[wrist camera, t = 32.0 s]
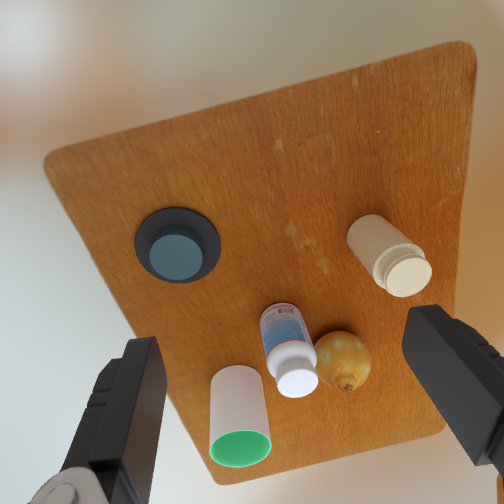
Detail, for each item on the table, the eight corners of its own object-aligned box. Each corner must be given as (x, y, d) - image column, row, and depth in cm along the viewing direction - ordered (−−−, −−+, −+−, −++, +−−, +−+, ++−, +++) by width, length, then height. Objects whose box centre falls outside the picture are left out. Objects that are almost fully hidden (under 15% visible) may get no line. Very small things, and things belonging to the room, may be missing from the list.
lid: (153, 269, 40) (150, 280, 38) (151, 224, 37) (147, 232, 35) (203, 271, 41) (202, 281, 39) (204, 226, 38) (203, 235, 36)
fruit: (297, 375, 49) (340, 413, 43) (304, 330, 45) (351, 365, 40) (333, 355, 53) (376, 387, 48) (342, 313, 50) (389, 342, 44)
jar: (348, 216, 40) (385, 256, 31) (392, 212, 40) (442, 250, 31) (344, 256, 42) (378, 303, 34) (386, 252, 43) (430, 297, 34)
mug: (272, 407, 55) (283, 473, 46) (226, 419, 56) (228, 487, 46) (254, 359, 49) (263, 423, 40) (203, 373, 50) (200, 439, 41)
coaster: (126, 211, 37) (124, 213, 36) (215, 202, 37) (214, 204, 37) (146, 285, 41) (145, 287, 41) (224, 276, 42) (224, 278, 41)
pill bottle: (250, 325, 46) (260, 393, 36) (274, 294, 44) (291, 357, 34) (285, 340, 48) (303, 408, 38) (310, 311, 46) (335, 375, 36)
